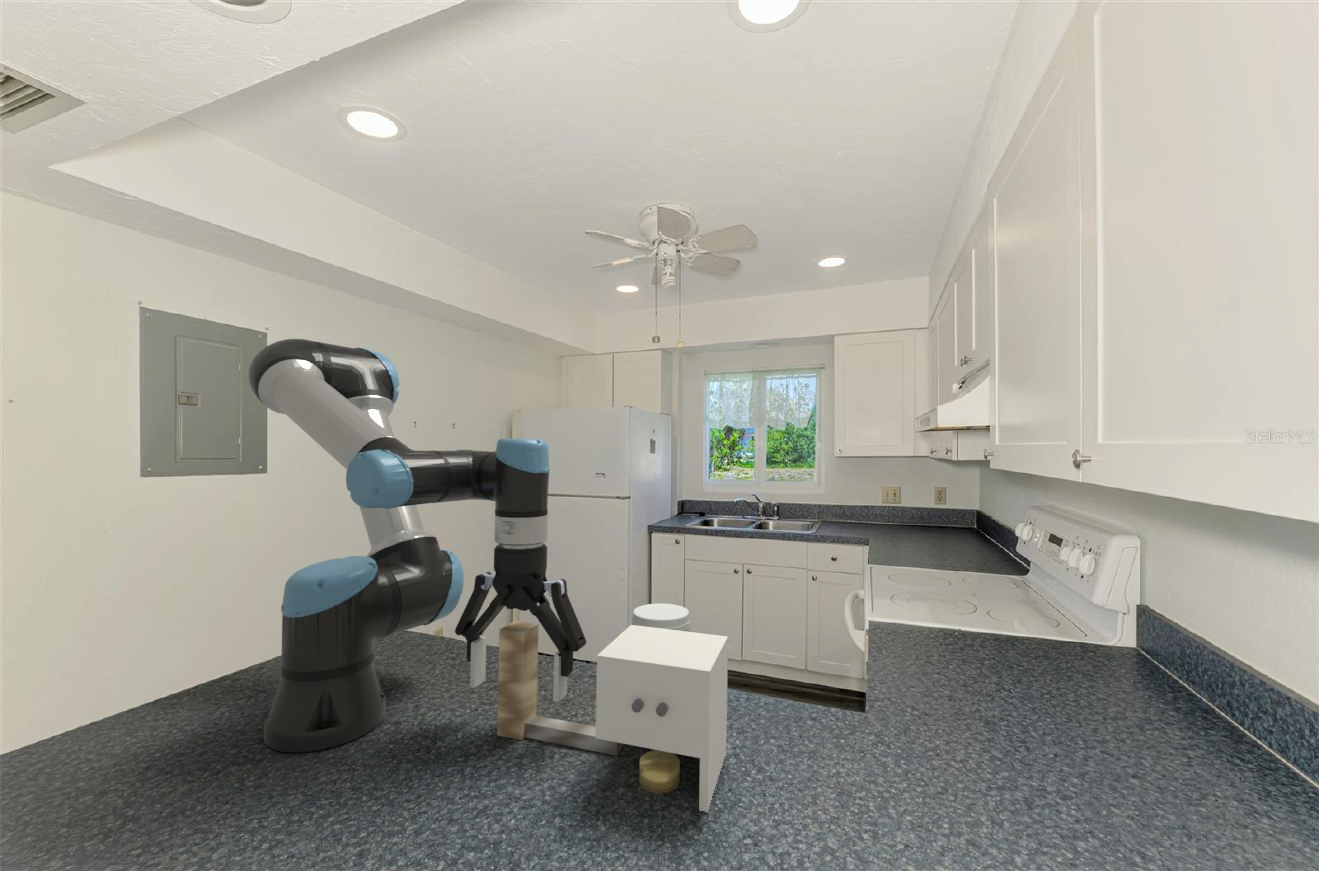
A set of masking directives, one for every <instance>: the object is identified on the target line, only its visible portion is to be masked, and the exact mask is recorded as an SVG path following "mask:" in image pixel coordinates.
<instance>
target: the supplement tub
mask: <svg viewBox="0 0 1319 871" xmlns="http://www.w3.org/2000/svg"><path fill="white" fill-rule="evenodd" d="M631 621H632V623H631V625H637V626H645V627H653V628H662V629H670V630H678V631H686V632H691V620H690V611H689V610H688V609H687V608H686V607H684V606H682V605H678V604H673V603H661V602H660V603H649V604H643V605H640V606H637V607H635V608H634V609H633V612H632V620H631Z"/></svg>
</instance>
